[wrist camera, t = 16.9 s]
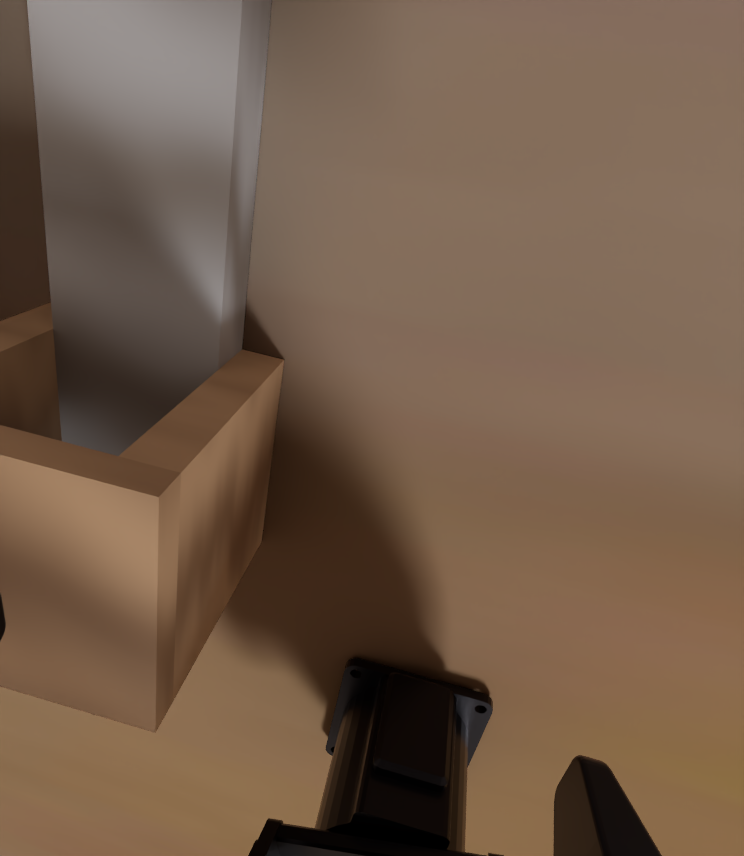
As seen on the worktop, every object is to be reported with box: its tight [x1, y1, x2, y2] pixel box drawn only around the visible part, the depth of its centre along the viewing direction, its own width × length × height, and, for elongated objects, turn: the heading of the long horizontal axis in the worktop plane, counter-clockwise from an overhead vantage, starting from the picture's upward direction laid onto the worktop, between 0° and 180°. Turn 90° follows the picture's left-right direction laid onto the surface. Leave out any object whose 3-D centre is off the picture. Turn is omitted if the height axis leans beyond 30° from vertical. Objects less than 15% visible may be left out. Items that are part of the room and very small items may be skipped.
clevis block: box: [0, 0, 284, 733], centre depth 14 cm, size 25×8×8 cm, turn 169°
